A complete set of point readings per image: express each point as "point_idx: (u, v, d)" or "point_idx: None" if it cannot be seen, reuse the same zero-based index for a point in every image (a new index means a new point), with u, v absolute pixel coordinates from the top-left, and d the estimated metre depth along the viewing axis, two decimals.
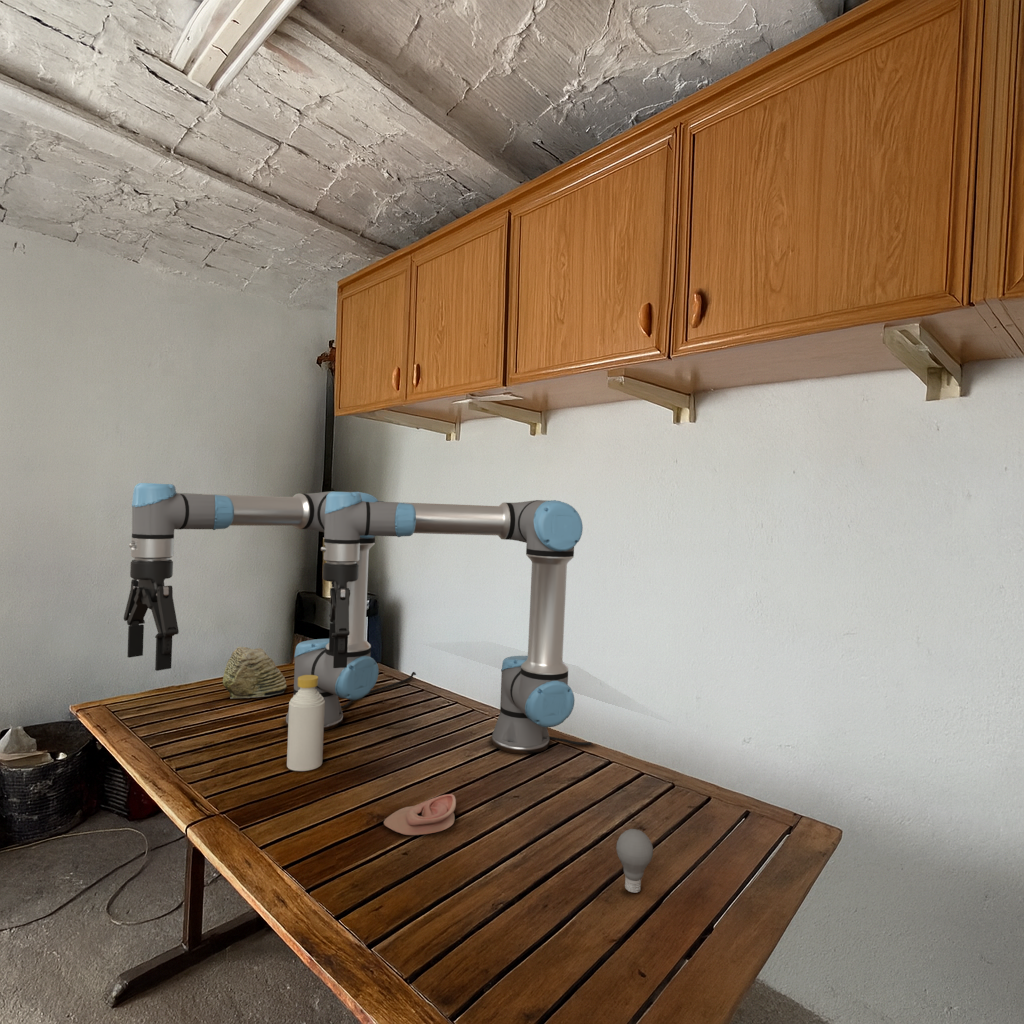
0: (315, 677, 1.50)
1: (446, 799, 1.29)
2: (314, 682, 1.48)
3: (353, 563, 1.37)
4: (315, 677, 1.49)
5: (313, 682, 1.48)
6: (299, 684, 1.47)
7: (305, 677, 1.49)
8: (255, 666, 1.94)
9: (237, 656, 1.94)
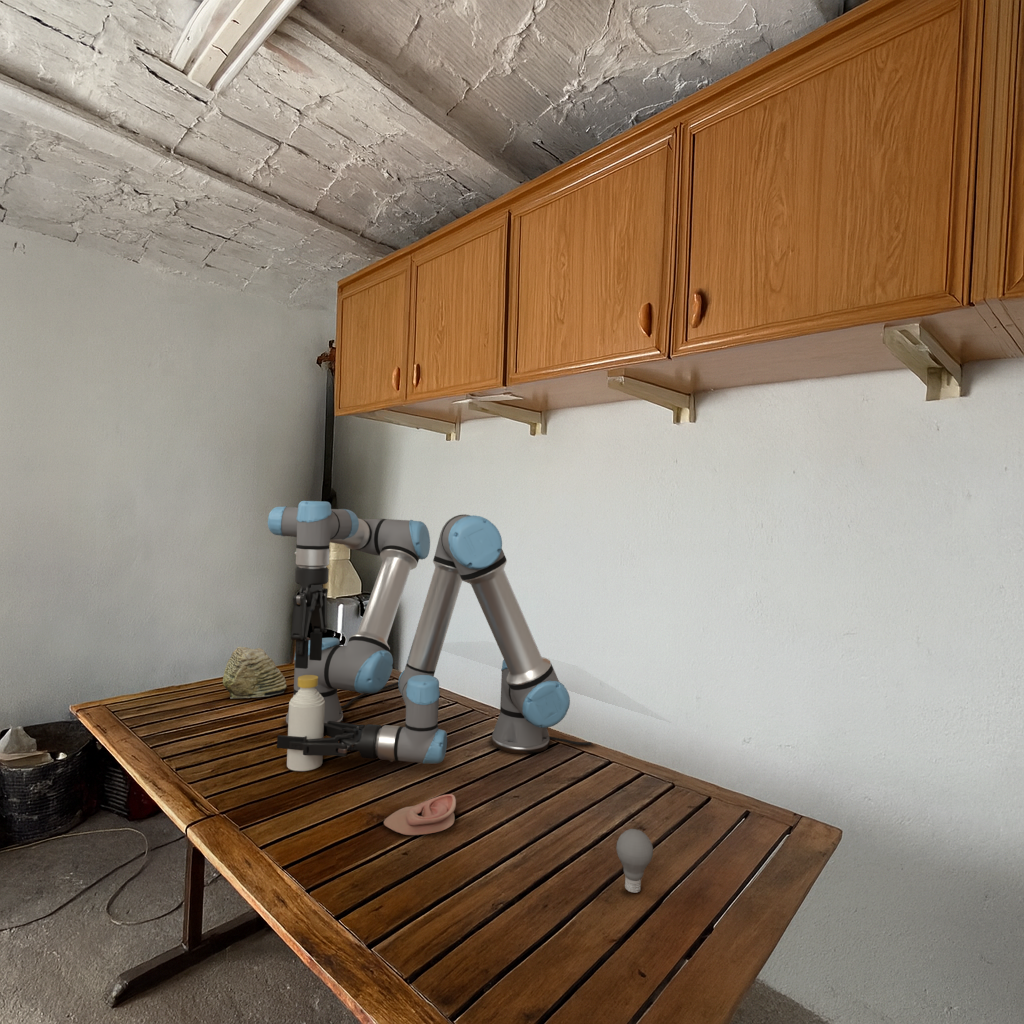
0: (315, 677, 1.50)
1: (446, 799, 1.29)
2: (314, 682, 1.48)
3: None
4: (315, 677, 1.49)
5: (313, 682, 1.48)
6: (299, 684, 1.47)
7: (305, 677, 1.49)
8: (255, 666, 1.94)
9: (237, 656, 1.94)
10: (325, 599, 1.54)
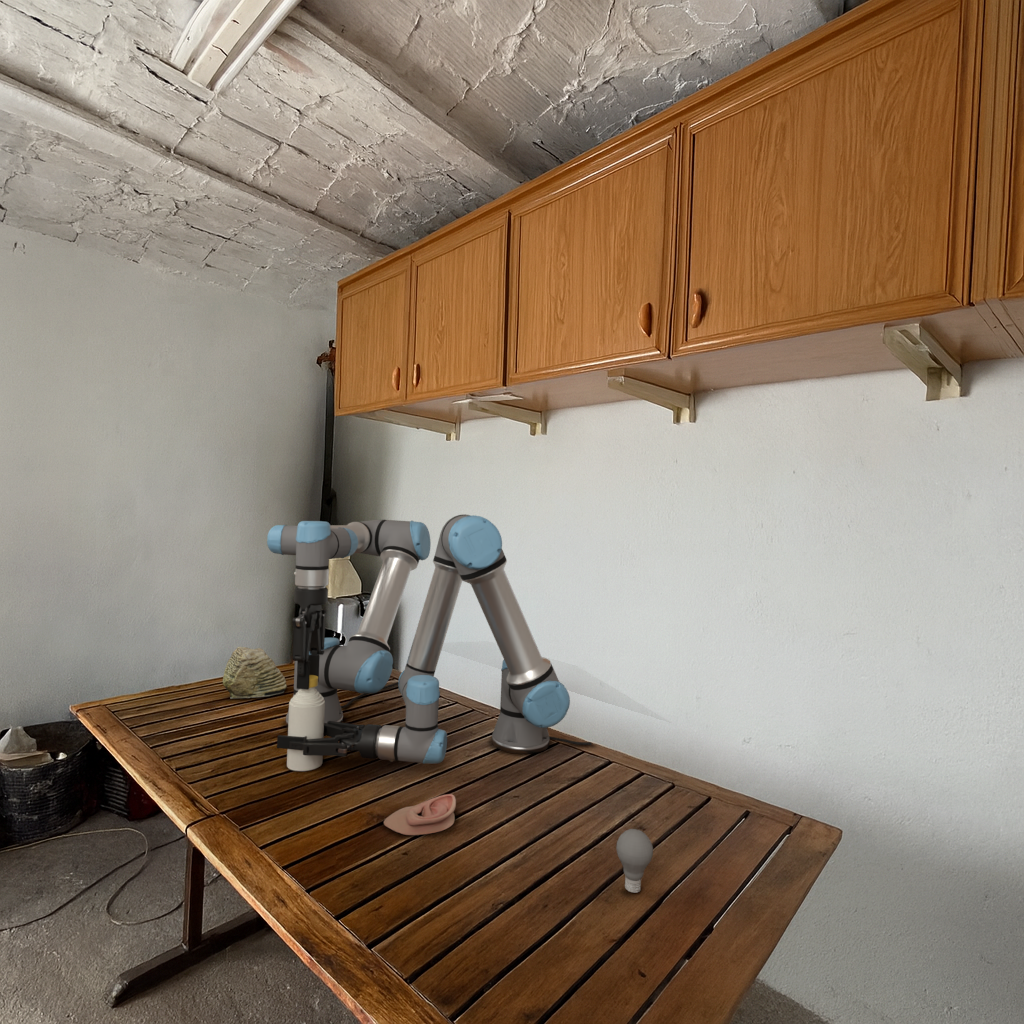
0: (315, 677, 1.50)
1: (446, 799, 1.29)
2: (314, 682, 1.48)
3: None
4: (315, 677, 1.49)
5: (313, 682, 1.48)
6: None
7: None
8: (255, 666, 1.94)
9: (237, 656, 1.94)
10: (324, 620, 1.54)
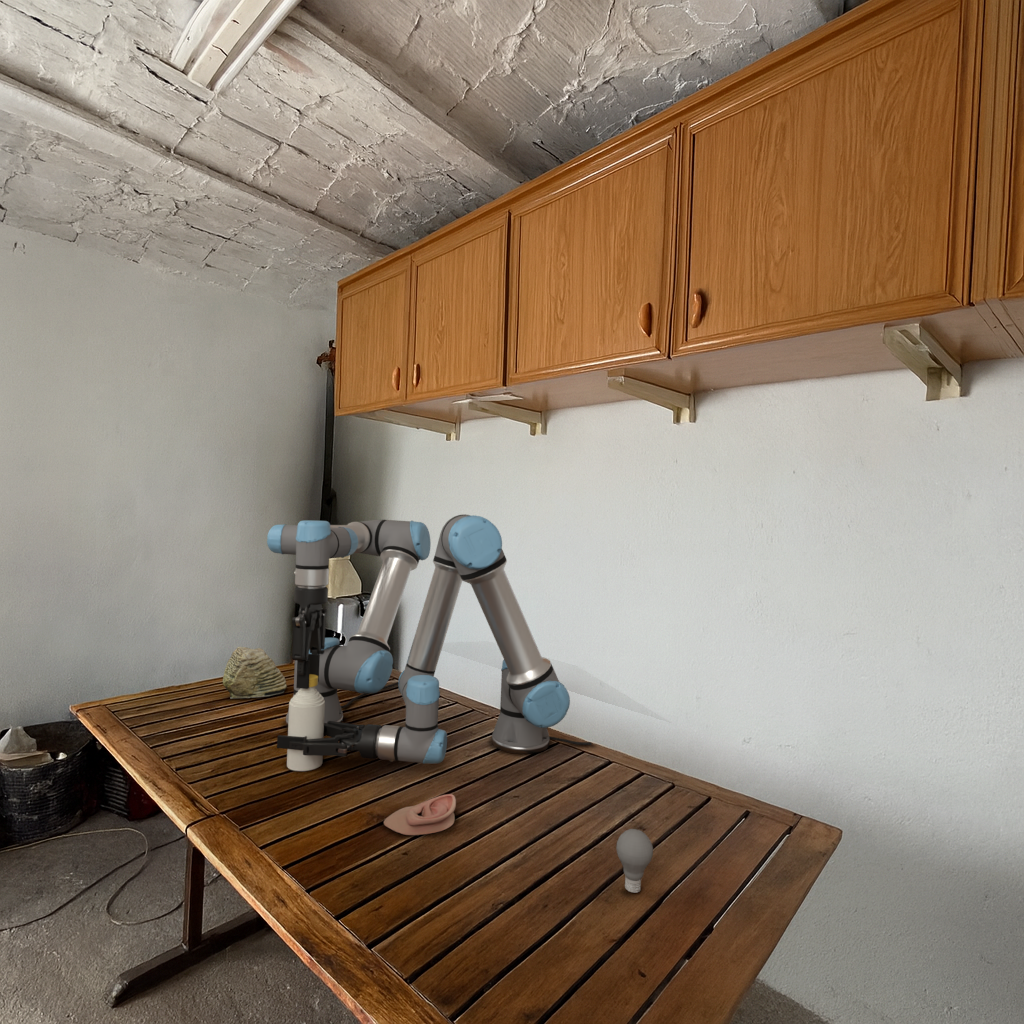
0: None
1: (446, 799, 1.29)
2: None
3: None
4: None
5: None
6: (317, 682, 1.49)
7: None
8: (255, 666, 1.94)
9: (237, 656, 1.94)
10: (324, 619, 1.54)
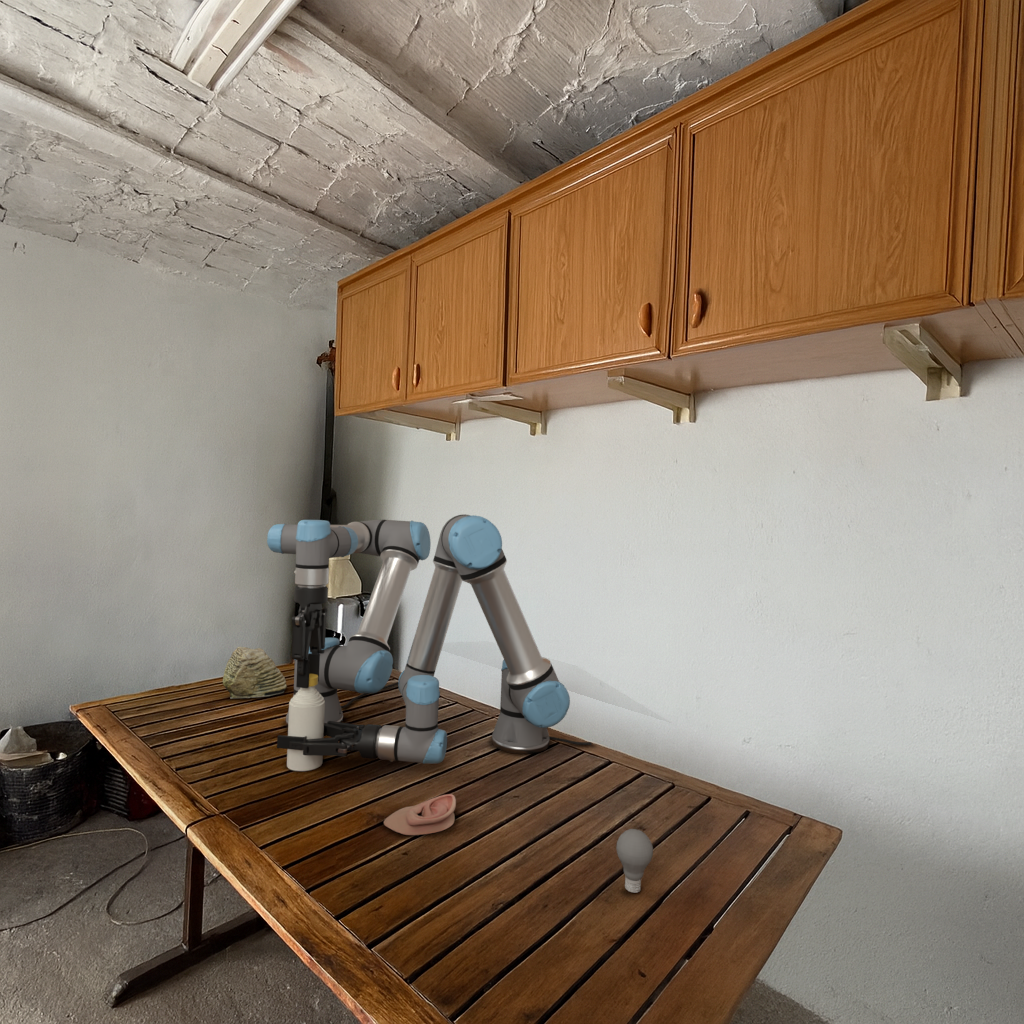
0: None
1: (446, 799, 1.29)
2: None
3: None
4: None
5: None
6: None
7: (309, 675, 1.50)
8: (255, 666, 1.94)
9: (237, 656, 1.94)
10: (324, 619, 1.54)
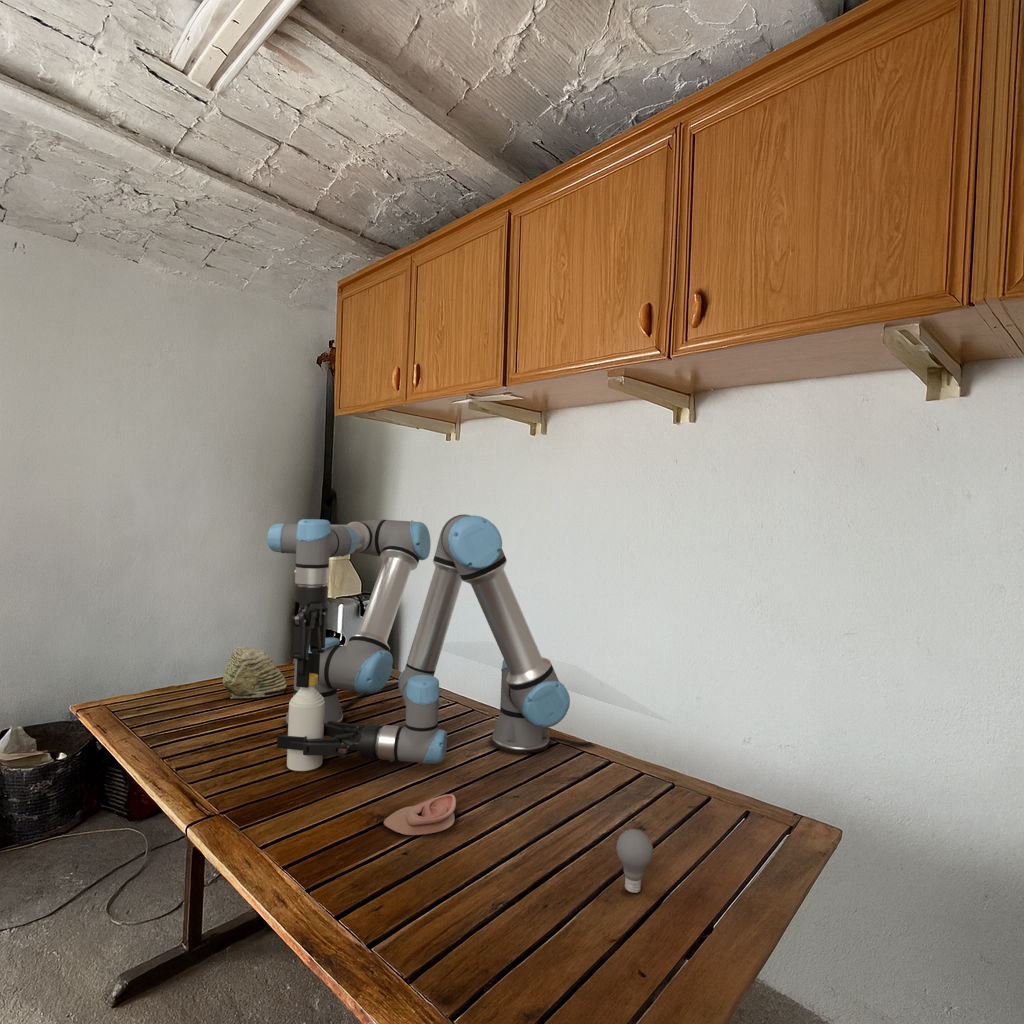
0: (315, 675, 1.50)
1: (446, 799, 1.29)
2: (315, 680, 1.48)
3: None
4: (315, 675, 1.50)
5: (314, 680, 1.48)
6: None
7: None
8: (255, 666, 1.94)
9: (237, 656, 1.94)
10: (324, 618, 1.54)
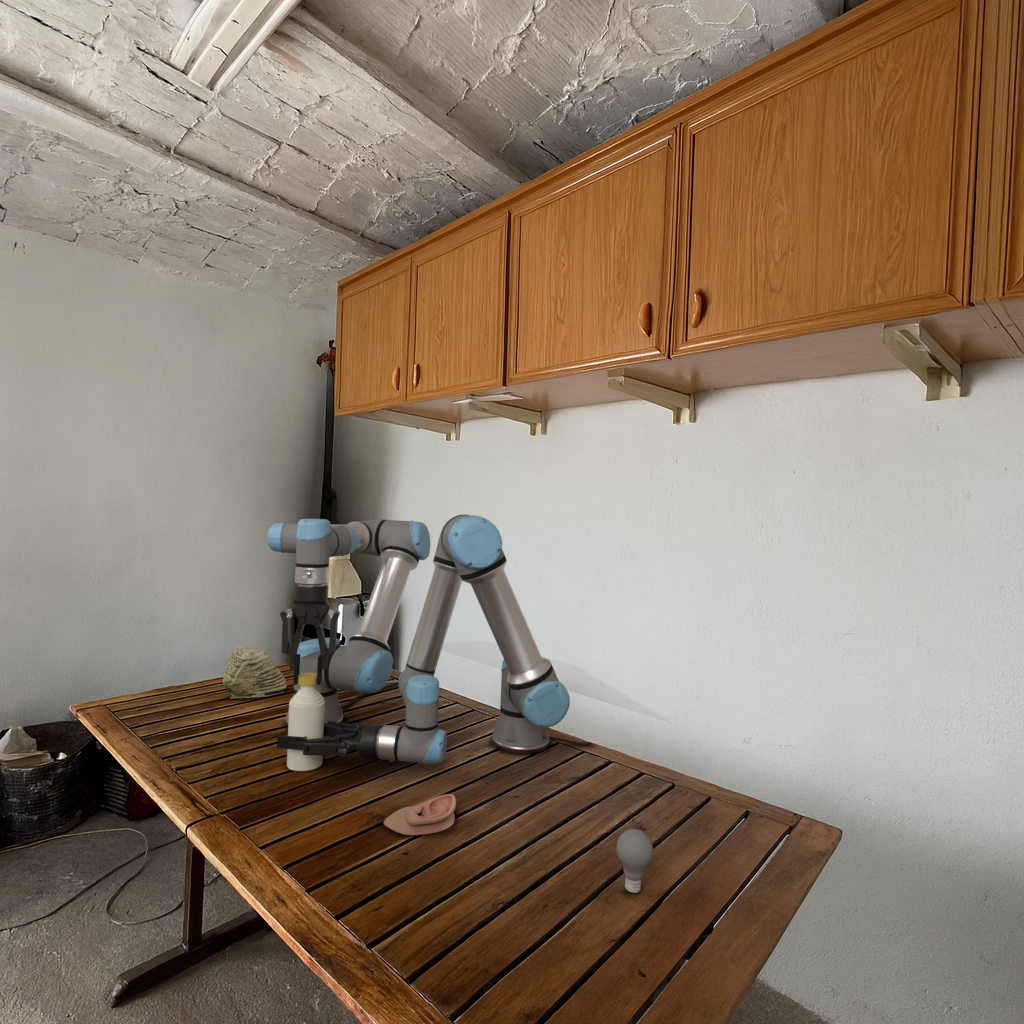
0: (306, 673, 1.51)
1: (446, 799, 1.29)
2: None
3: None
4: (306, 673, 1.51)
5: None
6: (316, 681, 1.49)
7: (308, 675, 1.49)
8: (255, 666, 1.94)
9: (237, 656, 1.94)
10: None
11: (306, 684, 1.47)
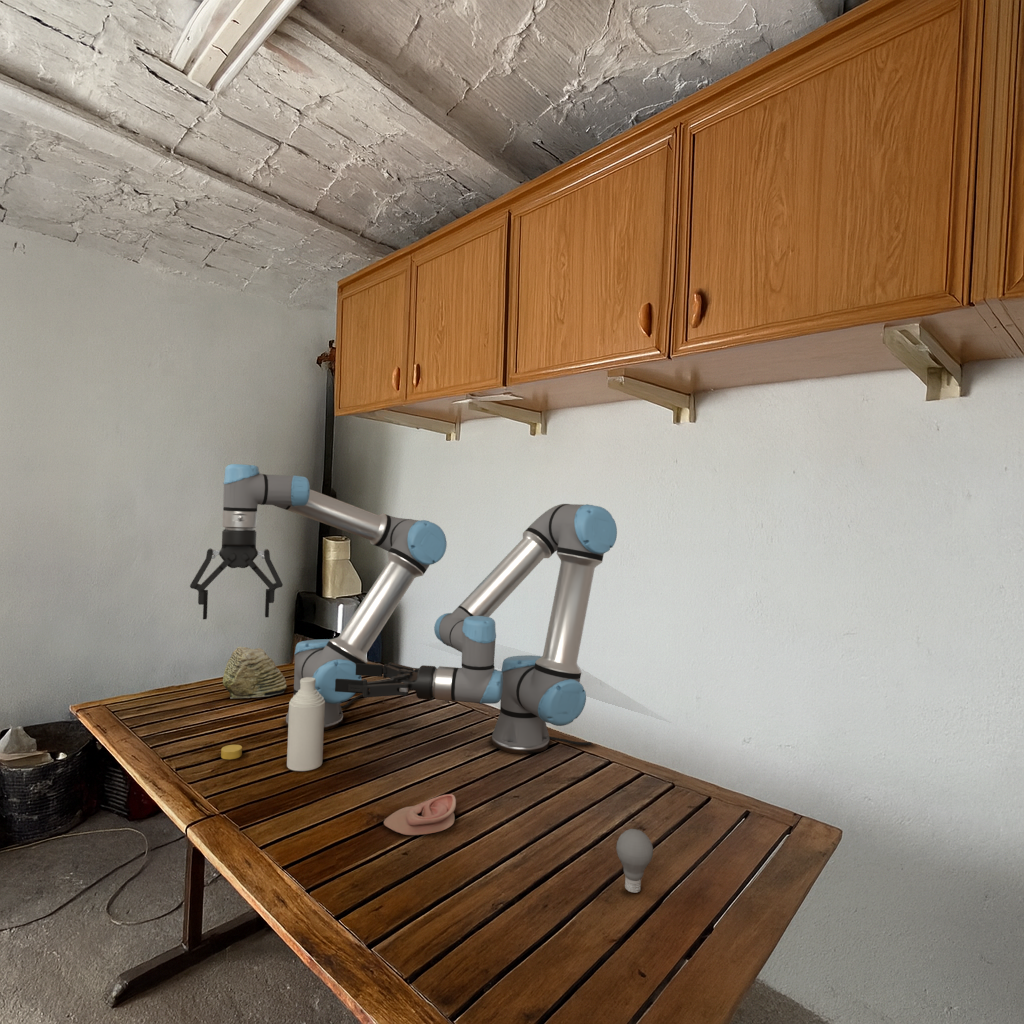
0: (228, 746, 1.53)
1: (446, 799, 1.29)
2: None
3: None
4: (229, 745, 1.54)
5: None
6: (241, 753, 1.52)
7: (232, 748, 1.52)
8: (255, 666, 1.94)
9: (237, 656, 1.94)
10: None
11: (231, 758, 1.50)
